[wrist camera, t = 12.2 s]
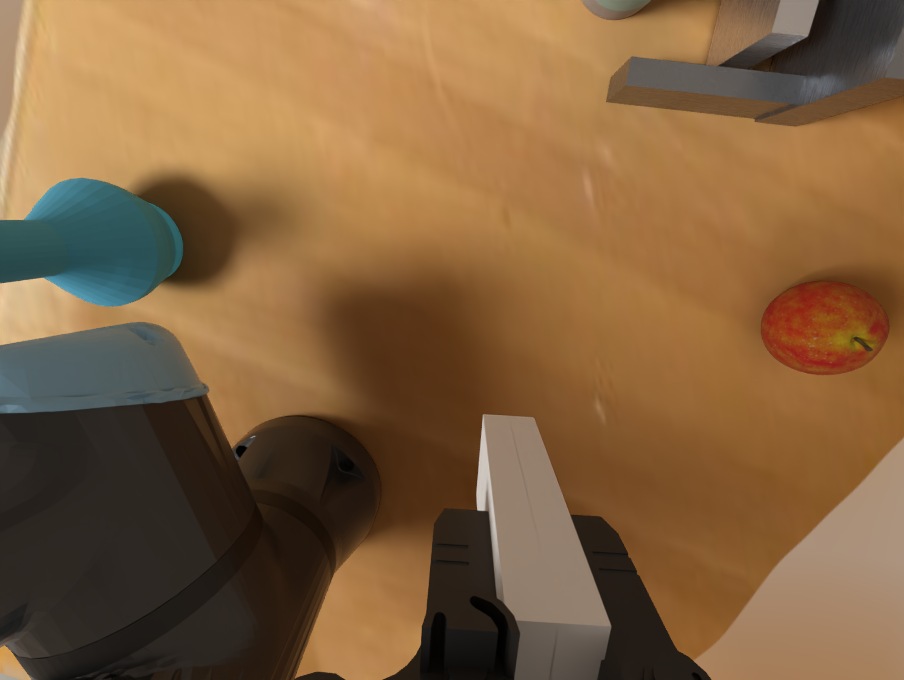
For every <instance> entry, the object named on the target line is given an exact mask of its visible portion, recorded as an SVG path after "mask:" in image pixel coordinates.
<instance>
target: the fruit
mask: <svg viewBox="0 0 904 680" xmlns="http://www.w3.org/2000/svg"><path fill="white" fill-rule="evenodd" d="M888 333H889V321H888V318H887V315H886V312H885V311H884V309H883V307H882V306H881V305H880V304H879V302H878V301H877V300H876V299H875V298H873V297H872V296H871V295H869V294H868V293H867V292H865V291H863V290H861V289H859V288H857V287H854V286H852V285H848V284H845V283H840V282H833V281H815V282H809V283H804V284H801V285H798V286H795V287H793V288H791V289H788V290H787V291H785V292H783V293H782V294H780V295H779V296H778V297H777V298H775V299H774V300H773V301H772V302H771V303H770V305H769V306H768V307H767V309H766V311H765V313H764V315H763V318H762V323H761V334H762V339H763V342H764V344H765V346H766V348H767V349H768V351H769V352H770V353H771V354H772V355H773V356H774V357H775V358H776V359H777V360H778V361H780V362H781V363H783V364H784V365H786V366H788V367H790V368H792V369H795V370H797V371H801V372H805V373H809V374H817V375H835V374H840V373H845V372H849V371H852V370H855V369H858V368H860V367H862V366H864V365H865V364H867V363H868V362H870V361H871V360H872V359H873V358H874V357H875V356H876V355H877V354H878V352H879V351H880V350H881V348H882V347H883V345H884V343H885V341H886V339H887V336H888Z"/></svg>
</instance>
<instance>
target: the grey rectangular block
mask: <svg viewBox="0 0 904 680" xmlns="http://www.w3.org/2000/svg"><path fill="white" fill-rule="evenodd" d="M823 1H824V0H722V1H721V5H720V9H719V13H718V18H717V22H716V26H715V30H714V34H713V38H712V42H711V46H710V50H709V54H708V58H707V62H706V65H711V66H720V67H729V68H738V69H746V70H747V69H749V68H751V67H752V66H754V65H756V64H758V63H760V62H762V61H763V60H765V59H767V58H769V57H771V56H773V55H775V54H776V53H778V52H780V51H782V50H784V49H786V48H787V47H789V46H791V45H793V44H795V43H797V42H799V41H800V40H802V39H804V38H806V37H808V35H809V31H810V28H811V25H812V22H813V18H814V15H815V12H816V8H817V5H818V4H820V3H821V2H823Z"/></svg>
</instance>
